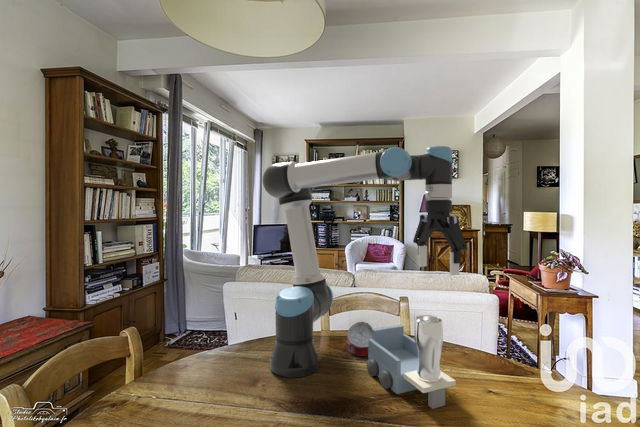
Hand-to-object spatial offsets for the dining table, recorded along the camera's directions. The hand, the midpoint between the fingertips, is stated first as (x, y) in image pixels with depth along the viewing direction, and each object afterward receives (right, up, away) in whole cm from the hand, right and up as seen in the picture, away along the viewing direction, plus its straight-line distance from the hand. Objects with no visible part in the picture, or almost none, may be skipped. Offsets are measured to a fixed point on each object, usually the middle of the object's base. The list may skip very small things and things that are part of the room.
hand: (437, 270), depth 99 cm
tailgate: (-8, -26, -10) cm, 29 cm away
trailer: (-10, -31, -6) cm, 33 cm away
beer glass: (-7, -25, -13) cm, 30 cm away
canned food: (-21, -31, +16) cm, 41 cm away
